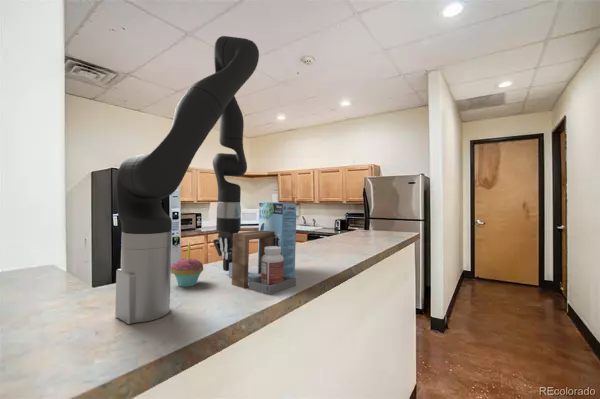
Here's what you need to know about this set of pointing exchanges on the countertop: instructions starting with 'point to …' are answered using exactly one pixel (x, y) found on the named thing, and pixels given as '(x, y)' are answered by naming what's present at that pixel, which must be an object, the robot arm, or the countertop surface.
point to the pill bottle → (272, 266)
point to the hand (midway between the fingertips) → (227, 270)
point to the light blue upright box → (281, 230)
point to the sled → (250, 276)
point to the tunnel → (247, 254)
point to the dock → (273, 286)
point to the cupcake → (187, 270)
